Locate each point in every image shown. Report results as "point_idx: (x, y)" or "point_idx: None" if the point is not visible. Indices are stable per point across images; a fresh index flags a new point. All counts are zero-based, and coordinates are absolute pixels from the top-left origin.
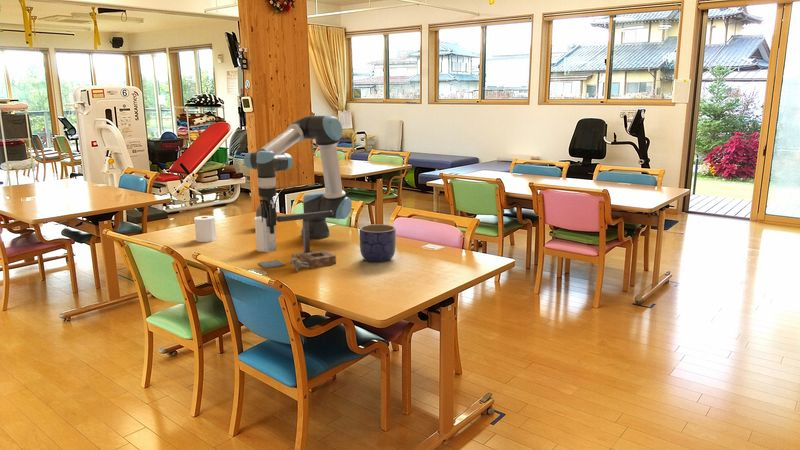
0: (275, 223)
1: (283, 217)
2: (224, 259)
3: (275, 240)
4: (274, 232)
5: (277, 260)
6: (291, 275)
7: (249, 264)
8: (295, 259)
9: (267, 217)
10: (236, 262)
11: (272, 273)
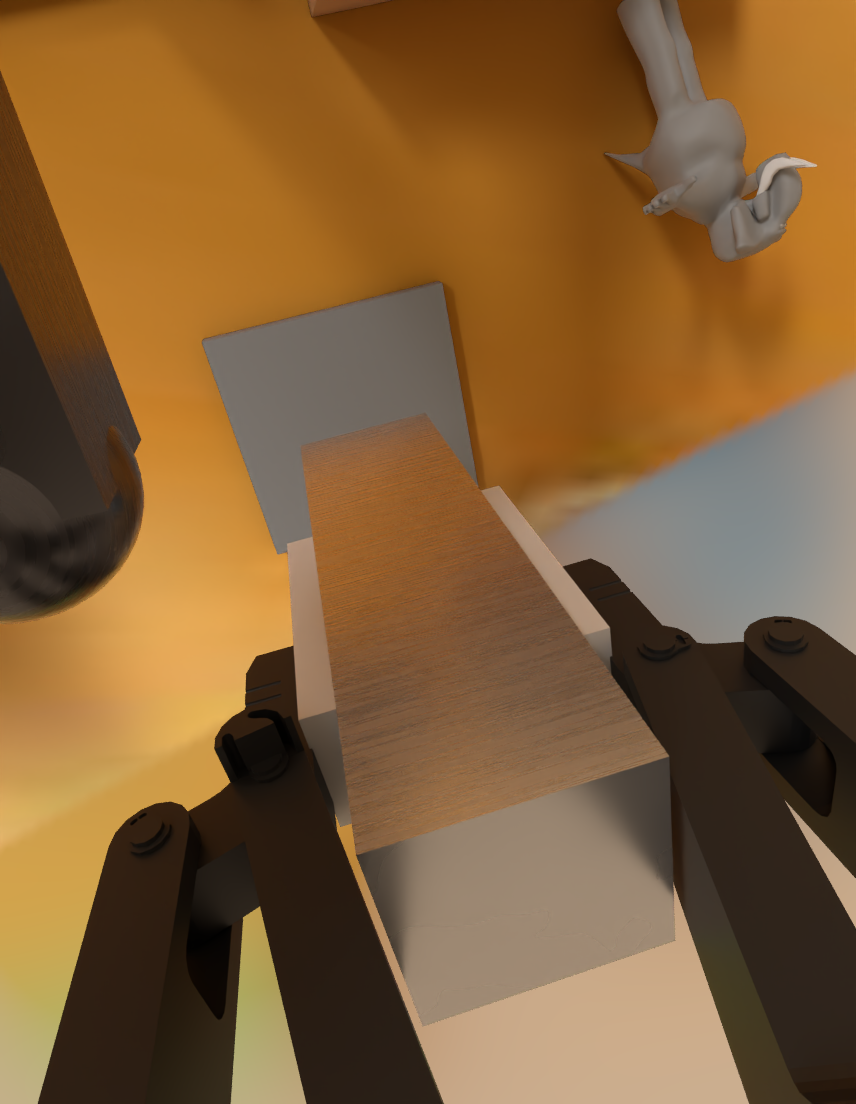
0: (830, 657)
1: (50, 345)
2: (21, 816)
3: (465, 471)
4: (549, 551)
5: (244, 343)
6: (796, 270)
7: (266, 620)
8: (800, 195)
9: (511, 927)
10: (159, 722)
11: (643, 439)
